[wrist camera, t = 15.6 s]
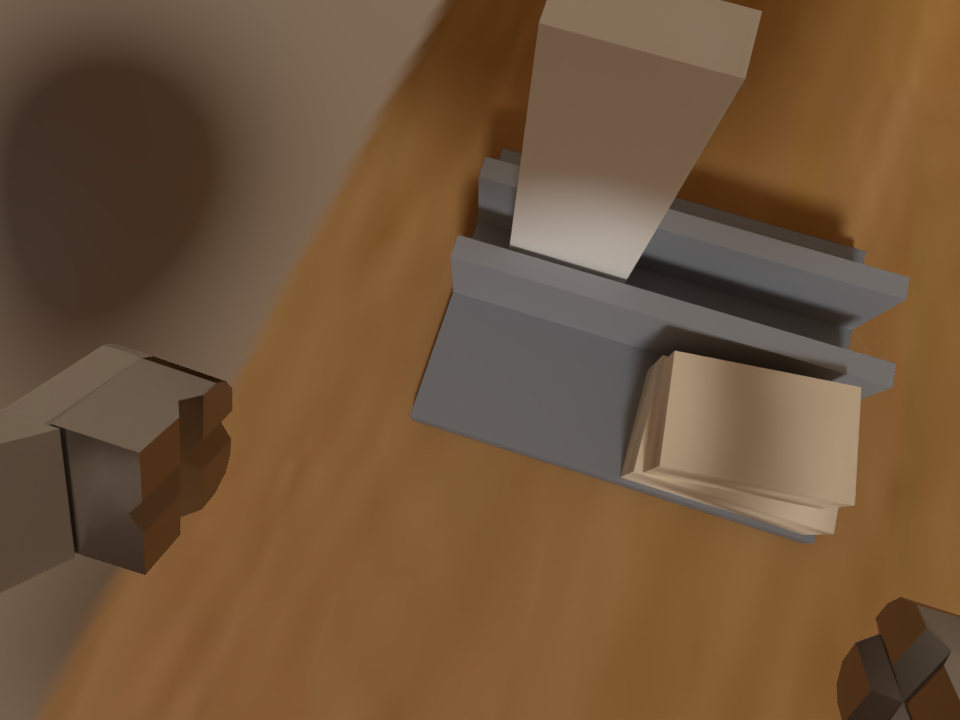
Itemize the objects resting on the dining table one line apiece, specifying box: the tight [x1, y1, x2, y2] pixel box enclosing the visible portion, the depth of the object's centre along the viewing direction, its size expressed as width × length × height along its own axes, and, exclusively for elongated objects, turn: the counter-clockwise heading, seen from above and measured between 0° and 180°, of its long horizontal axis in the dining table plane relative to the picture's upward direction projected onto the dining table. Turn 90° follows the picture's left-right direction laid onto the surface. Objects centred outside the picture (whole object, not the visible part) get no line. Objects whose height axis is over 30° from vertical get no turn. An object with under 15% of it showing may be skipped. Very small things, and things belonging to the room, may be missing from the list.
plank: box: [509, 0, 762, 284], centre depth 24 cm, size 5×2×16 cm, turn 73°
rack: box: [410, 148, 909, 543], centre depth 29 cm, size 18×14×5 cm
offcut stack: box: [620, 351, 861, 535], centre depth 27 cm, size 8×5×5 cm, turn 72°
